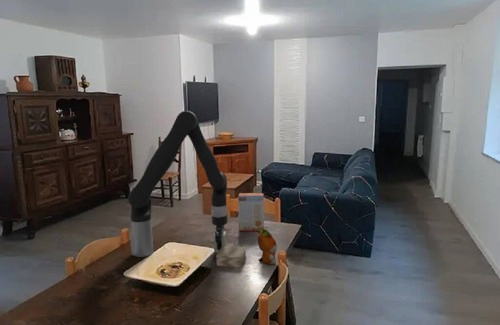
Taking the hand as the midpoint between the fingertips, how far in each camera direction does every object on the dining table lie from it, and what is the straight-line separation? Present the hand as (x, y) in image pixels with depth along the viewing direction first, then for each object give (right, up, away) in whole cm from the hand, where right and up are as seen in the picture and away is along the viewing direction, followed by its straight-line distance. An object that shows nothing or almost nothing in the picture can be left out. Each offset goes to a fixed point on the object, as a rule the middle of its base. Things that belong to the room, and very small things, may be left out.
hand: (220, 247), depth 178 cm
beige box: (+6, -4, -11) cm, 13 cm away
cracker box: (+15, +3, +29) cm, 33 cm away
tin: (0, -2, 0) cm, 2 cm away
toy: (+23, -4, -11) cm, 25 cm away
